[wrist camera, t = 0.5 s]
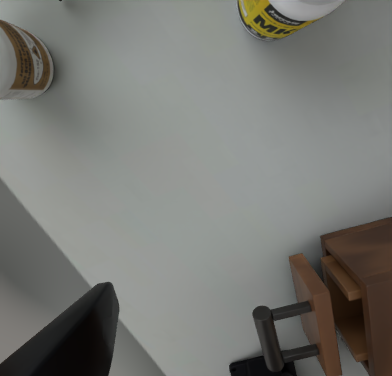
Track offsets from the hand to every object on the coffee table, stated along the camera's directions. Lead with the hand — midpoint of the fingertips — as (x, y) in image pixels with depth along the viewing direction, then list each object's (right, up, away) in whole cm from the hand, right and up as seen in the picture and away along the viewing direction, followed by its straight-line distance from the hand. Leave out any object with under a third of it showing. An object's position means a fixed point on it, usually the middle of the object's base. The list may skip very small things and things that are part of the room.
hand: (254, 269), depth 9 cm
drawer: (+10, -6, +16) cm, 20 cm away
